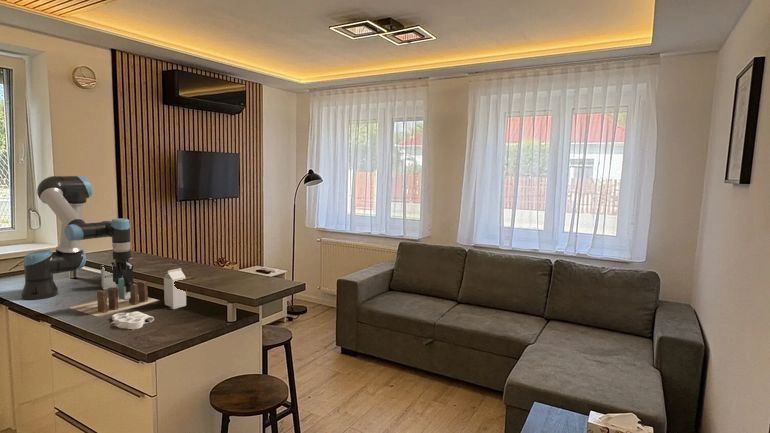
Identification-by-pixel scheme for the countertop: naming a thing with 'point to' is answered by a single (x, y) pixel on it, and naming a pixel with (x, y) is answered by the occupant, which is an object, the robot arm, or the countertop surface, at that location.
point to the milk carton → (174, 289)
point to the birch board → (122, 305)
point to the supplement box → (107, 279)
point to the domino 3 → (121, 288)
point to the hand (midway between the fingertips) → (123, 297)
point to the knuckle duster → (131, 320)
